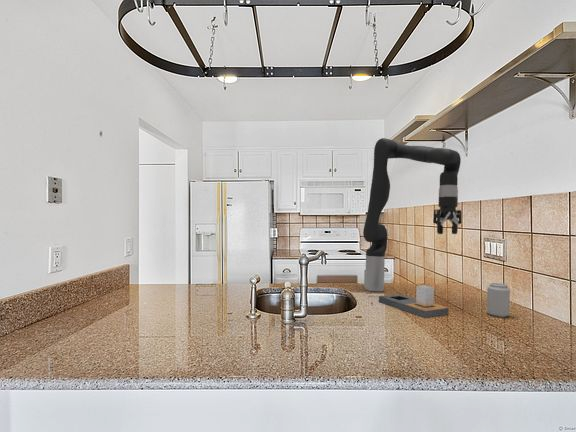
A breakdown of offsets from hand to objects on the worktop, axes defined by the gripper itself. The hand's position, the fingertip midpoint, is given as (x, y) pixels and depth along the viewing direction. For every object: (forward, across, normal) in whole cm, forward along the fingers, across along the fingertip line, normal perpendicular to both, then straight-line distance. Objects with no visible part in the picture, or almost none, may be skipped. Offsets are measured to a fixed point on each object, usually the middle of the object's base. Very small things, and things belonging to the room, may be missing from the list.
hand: (447, 234), depth 155 cm
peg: (+30, +19, +6) cm, 36 cm away
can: (+30, -5, +20) cm, 37 cm away
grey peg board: (+30, +19, 0) cm, 36 cm away
